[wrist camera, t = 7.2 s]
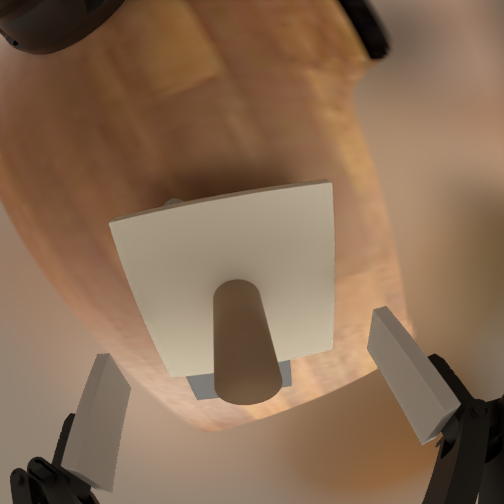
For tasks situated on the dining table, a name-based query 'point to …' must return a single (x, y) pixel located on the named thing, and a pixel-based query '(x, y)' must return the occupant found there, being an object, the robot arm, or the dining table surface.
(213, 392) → the mat
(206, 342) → the lid
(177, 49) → the dining table surface
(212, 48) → the dining table surface
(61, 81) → the dining table surface
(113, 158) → the dining table surface
